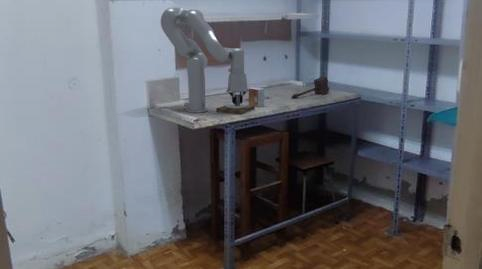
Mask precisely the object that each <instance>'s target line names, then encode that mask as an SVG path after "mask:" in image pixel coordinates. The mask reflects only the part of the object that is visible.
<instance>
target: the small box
mask: <svg viewBox="0 0 482 269" xmlns="http://www.w3.org/2000/svg"><path fill="white" fill-rule="evenodd" d="M248 90H249V91H248V105H251V106H255V108H262V107H264V106H265V88H260V87H248Z"/></svg>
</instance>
